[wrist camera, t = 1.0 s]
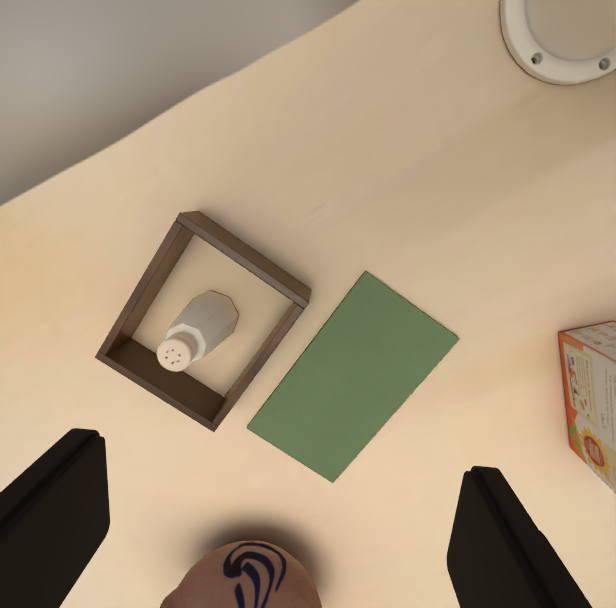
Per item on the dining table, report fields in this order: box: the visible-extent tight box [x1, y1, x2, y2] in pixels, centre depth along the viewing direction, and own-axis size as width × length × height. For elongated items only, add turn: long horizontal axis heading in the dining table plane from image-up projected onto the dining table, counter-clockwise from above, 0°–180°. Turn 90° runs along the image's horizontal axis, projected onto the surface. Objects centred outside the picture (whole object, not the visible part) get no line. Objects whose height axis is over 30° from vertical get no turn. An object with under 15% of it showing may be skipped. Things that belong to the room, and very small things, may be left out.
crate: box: [95, 211, 311, 432], centre depth 39 cm, size 17×14×5 cm
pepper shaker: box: [157, 291, 239, 372], centre depth 36 cm, size 5×5×11 cm
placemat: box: [247, 271, 459, 483], centre depth 42 cm, size 22×12×1 cm, turn 145°
